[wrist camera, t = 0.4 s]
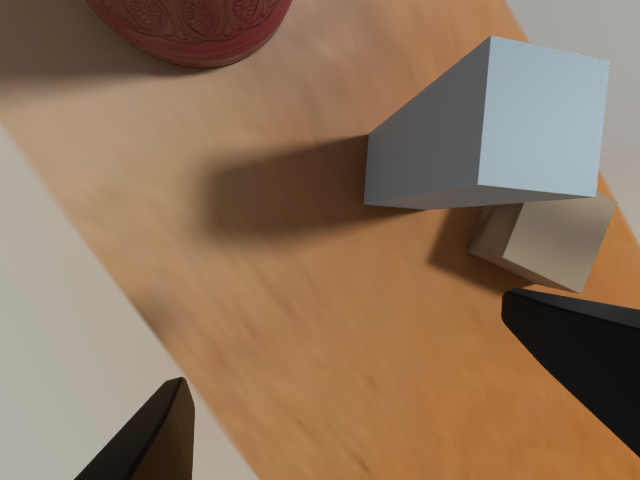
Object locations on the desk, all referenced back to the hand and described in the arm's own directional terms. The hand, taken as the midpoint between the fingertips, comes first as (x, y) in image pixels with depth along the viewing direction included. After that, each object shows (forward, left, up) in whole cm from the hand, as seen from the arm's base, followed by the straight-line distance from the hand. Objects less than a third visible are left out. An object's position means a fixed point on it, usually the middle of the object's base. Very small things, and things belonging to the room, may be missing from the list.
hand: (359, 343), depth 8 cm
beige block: (-3, -18, -14) cm, 23 cm away
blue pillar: (+4, -9, -14) cm, 17 cm away
